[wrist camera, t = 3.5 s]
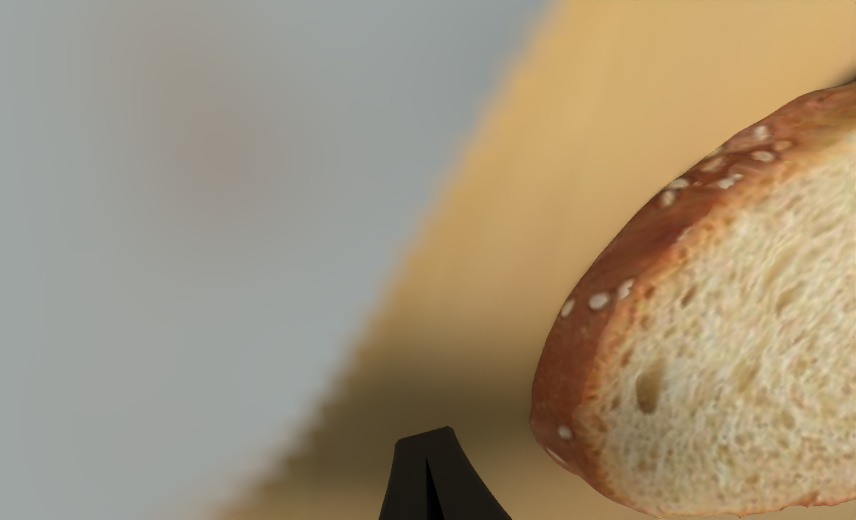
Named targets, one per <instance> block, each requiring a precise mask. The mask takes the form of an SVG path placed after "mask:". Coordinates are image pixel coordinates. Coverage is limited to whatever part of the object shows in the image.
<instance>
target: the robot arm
mask: <svg viewBox="0 0 856 520" xmlns="http://www.w3.org/2000/svg"><path fill="white" fill-rule="evenodd" d="M379 520H512V519H511V517H510V516H509V515H508V514H507V513H506V511H505V510H504V509H503V508H502V507H501V505H500V504H499V503H498V501H497V500H496V499H495V498H494V496H493V495H492V494H491V492H490V491H489V489H488V488H487V487H486V485H485V484H484V482H483V481H482V480H481V478H480V477H479V476H478V474H477V473H476V471H475V470H474V468H473V467H472V465H471V463H470V462H469V460H468V458H467V457H466V455H465V453H464V452H463V450H462V448H461V446H460V444H459V442H458V440H457V438H456V436H455V433H454V430H453V429H452V428H450V427H449V426H446V427H443V428H439V429H436V430H432V431H428V432H425V433H421V434H417V435H414V436H410V437H407V438H403V439H399V440H398V441H397V443H396V444H395V452H394V458H393V464H392V469H391V474H390V478H389V483H388V487H387V491H386V495H385V498H384V502H383V505H382V509H381V513H380V516H379Z"/></svg>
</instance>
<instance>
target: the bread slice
mask: <svg viewBox="0 0 856 520" xmlns="http://www.w3.org/2000/svg"><path fill="white" fill-rule="evenodd" d="M530 425H531V428H532V431H533V433H534V435H535V437H536V440H537V442H538V444H539V445H540V446H541V447H542V448H543V449H544V450H545V451H546V452H547V453H548V454H549V455H550V456H551V458H552V459H553V460H554V461H555V462H557V463H558V464H559V465H560V466H562V467H563V468H564V469H566V470H568V471H569V472H571V473H573V474H576V475H578V476H580V477H581V478H583V479H584V480H585V481H586V482H587V483H588V484H589V485H591V486H592V487H593V488H594V489H595V490H596V491H598V492H599V493H600V494H602V495H603V496H605V497H607V498H609V499H611V500H612V501H614V502H617V503H620V504H622V505H625V506H627V507H629V508H632V509H634V510H636V511H639V512H641V513H644V514H648V515H651V516H654V517H656V518H659V519H661V518H663V517H667V516H716V515H719V514H724V513H729V514H734V515H737V516H739V517H742V516H744V515H748V514H762V513H765V512H771V511H775V512H777V511H781V510H782V509H783V508H785V507H787V506H789V505H796V506H797V505H802V506H806V507H807V508H808V507H810V506H821V505H827V506H835V505H838V504H839V503H842V502H847V501H849V500H852V499H856V80H855V81H853V82H850V83H848V84H845V85H842V86H838V87H834V88H828V89H822V90H817V91H813V92H810V93H807V94H804V95H802V96H800V97H798V98H796V99H794V100H792V101H791V102H789V103H787V104H786V105H784V106H782V107H781V108H780V109H778V110H777V111H775V112H774V113H772V114H770V115H769V116H767V117H766V118H764V119H762V120H760V121H758V122H757V123H755V124H753V125H751V126H749V127H747V128H746V129H744V130H742V131H740V132H738V133H737V134H735V135H734V136H733V137H731V138H730V139H729V140H728V141H726V142H725V143H724V144H722V145H721V146H720V147H718V148H717V149H716V150H714V151H713V152H712V153H710V154H709V155H708V156H706V157H705V158H704V159H703V160H701V161H700V162H699V163H698V164H696V165H695V166H694V167H692V168H691V169H690V170H688V171H687V172H686V173H684V174H683V175H682V176H680V177H679V178H677V179H676V180H674V181H673V182H671V183H670V184H669V185H668V186H666V187H665V188H664V189H663V190H661V191H660V192H659V193H658V194H657V195H656V196H655V197H654V198H652V199H651V200H650V201H649V202H648V203H647V204H646V205H645V206H644V207H643V208H642V209H641V210H640V211H639V212H637V213H636V214H635V216H634V217H633V218H632V219H631V220H630V221H629V222H628V223H627V224H626V226H625V227H624V228H623V229H622V230H621V232H620V233H619V234H618V235H617V236H616V237H615V238H614V240H613V241H612V242H611V243H610V244H609V245H608V246H607V247H606V248H605V250H604V251H603V252H602V253H601V254H600V255H599V257H598V258H597V259H596V261H595V262H594V263H593V265H592V266H591V268H590V269H589V270H588V272H587V273H586V274H585V275H584V276H583V277H582V279H581V280H580V282H579V283H578V284H577V286H576V287H575V288H574V290H573V291H572V293H571V294H570V295H569V297H568V299H567V300H566V302H565V304H564V306H563V308H562V310H561V312H560V314H559V316H558V318H557V320H556V322H555V324H554V326H553V328H552V330H551V332H550V333H549V335H548V337H547V340H546V343H545V346H544V349H543V352H542V355H541V358H540V361H539V364H538V367H537V370H536V373H535V378H534V382H533V388H532V410H531V414H530Z"/></svg>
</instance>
